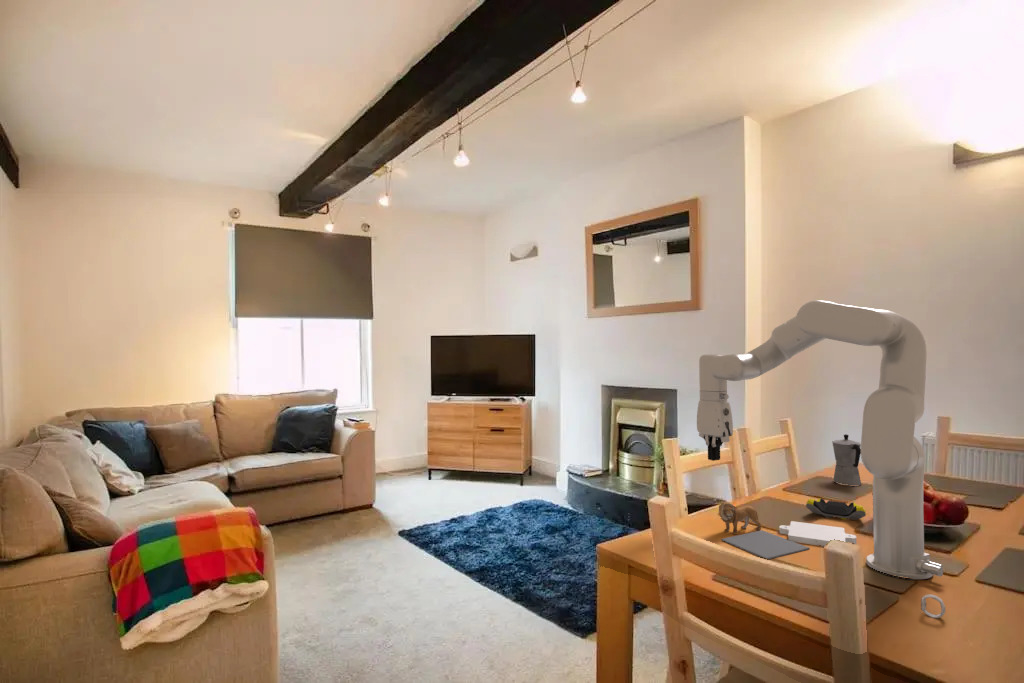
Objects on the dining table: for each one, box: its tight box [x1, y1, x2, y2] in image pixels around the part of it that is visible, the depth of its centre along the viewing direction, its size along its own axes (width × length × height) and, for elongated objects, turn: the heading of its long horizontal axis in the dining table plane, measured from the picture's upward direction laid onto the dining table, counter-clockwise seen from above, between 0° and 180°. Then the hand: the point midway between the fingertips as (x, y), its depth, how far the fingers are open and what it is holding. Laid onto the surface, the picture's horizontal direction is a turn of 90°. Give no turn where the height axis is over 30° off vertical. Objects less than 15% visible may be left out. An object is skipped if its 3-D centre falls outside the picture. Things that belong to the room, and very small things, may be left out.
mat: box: [720, 529, 810, 560], centre depth 141 cm, size 14×15×1 cm
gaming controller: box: [805, 497, 867, 521], centre depth 162 cm, size 15×6×10 cm
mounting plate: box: [778, 520, 857, 547], centre depth 146 cm, size 18×13×2 cm
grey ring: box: [920, 593, 946, 619], centre depth 103 cm, size 4×2×4 cm, turn 47°
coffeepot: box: [831, 433, 862, 486], centre depth 198 cm, size 15×9×18 cm, turn 175°
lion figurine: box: [718, 501, 762, 536], centre depth 152 cm, size 15×5×9 cm, turn 117°
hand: (714, 459), depth 158 cm, fingers closed
